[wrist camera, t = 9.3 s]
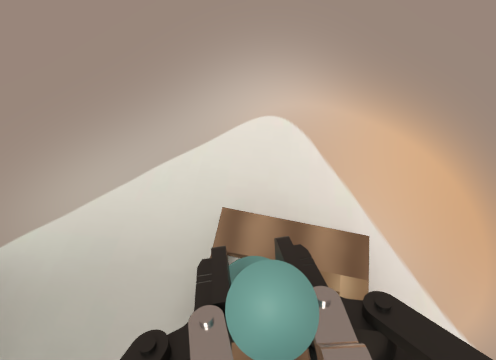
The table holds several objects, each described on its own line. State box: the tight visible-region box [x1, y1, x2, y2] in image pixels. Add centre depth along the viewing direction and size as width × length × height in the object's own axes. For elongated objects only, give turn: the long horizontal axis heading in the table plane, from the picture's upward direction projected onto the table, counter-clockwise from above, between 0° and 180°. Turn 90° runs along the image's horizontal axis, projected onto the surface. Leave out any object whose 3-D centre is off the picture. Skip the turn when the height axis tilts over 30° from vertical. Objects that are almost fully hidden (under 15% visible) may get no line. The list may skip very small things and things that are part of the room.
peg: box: [225, 256, 319, 360], centre depth 12 cm, size 5×5×11 cm
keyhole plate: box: [210, 207, 369, 360], centre depth 27 cm, size 16×16×4 cm
